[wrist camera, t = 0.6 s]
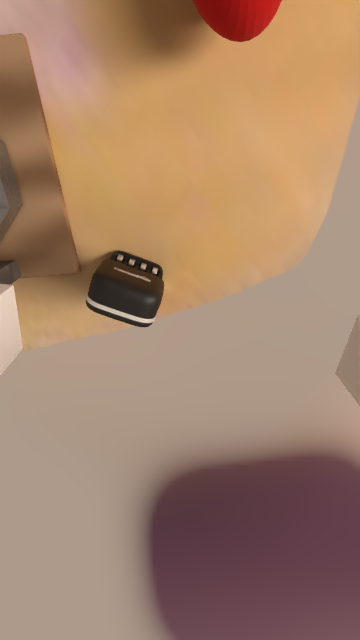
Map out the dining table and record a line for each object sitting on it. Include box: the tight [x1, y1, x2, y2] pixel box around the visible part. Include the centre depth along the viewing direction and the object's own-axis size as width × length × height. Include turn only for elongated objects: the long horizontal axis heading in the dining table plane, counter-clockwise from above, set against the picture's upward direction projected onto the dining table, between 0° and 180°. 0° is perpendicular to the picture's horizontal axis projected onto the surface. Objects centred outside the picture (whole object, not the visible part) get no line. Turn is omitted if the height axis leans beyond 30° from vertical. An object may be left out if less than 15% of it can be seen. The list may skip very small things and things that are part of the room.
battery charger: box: [86, 251, 164, 327], centre depth 33 cm, size 7×4×11 cm, turn 69°
